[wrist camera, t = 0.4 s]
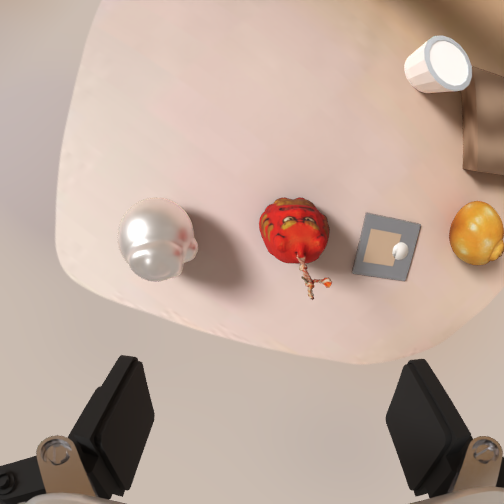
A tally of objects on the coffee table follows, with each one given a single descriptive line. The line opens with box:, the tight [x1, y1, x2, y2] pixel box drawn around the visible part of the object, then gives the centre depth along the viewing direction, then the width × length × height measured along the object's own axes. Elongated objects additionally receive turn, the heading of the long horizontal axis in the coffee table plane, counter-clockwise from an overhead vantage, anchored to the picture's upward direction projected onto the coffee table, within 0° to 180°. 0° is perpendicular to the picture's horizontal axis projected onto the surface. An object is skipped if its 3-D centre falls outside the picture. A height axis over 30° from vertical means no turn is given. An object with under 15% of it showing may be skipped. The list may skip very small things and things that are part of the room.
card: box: [352, 213, 421, 281], centre depth 39 cm, size 8×8×1 cm
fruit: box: [449, 201, 504, 265], centre depth 34 cm, size 8×8×8 cm
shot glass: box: [405, 36, 472, 93], centre depth 28 cm, size 7×7×7 cm
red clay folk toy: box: [259, 198, 332, 300], centre depth 32 cm, size 8×7×15 cm
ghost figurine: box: [118, 198, 198, 282], centre depth 35 cm, size 9×10×10 cm
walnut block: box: [461, 67, 504, 175], centre depth 31 cm, size 14×14×4 cm
